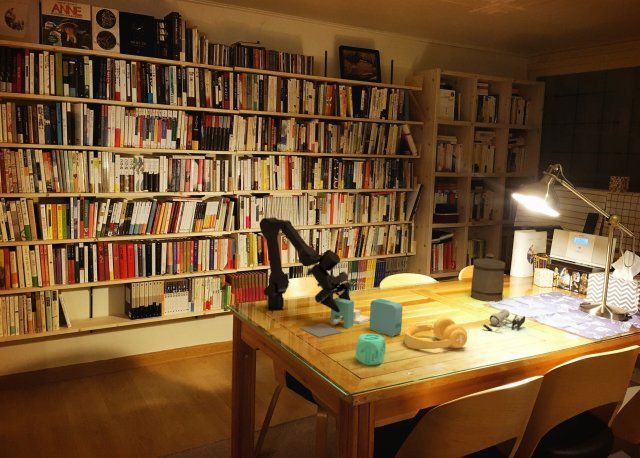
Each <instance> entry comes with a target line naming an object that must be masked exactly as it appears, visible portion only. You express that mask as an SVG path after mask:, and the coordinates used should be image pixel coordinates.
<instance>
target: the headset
mask: <svg viewBox="0 0 640 458" xmlns="http://www.w3.org/2000/svg"><path fill="white" fill-rule="evenodd" d="M432 330H433V334H434V335H435V337H436V339H438V340H428V339H423V338H419V337H417V336H416V337H415V336H414V335H415V334H418V333H421V332H422V333H423V332H431V331H432ZM403 336H404V344H405V346H406V347H408V348H410V349H416V350H436V349H442V348H446V347H448V348H451V349H460V348H463V346H465V345H466V343H467V341H468V334H467V330H466V329H465V328H464V327H463V325H460V324H457V323H456V322H455V321H454V320H453V319H452V318H449V317H446V316H444V317H443V316H442V317H440V318H438V319H437V320H435V322H433V325H431V324H420V325H419V324H418V325H414V326H409V327H407V328H406V329H405V330H404V335H403Z"/></svg>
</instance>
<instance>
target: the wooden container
mask: <svg viewBox="0 0 640 458" xmlns="http://www.w3.org/2000/svg"><path fill="white" fill-rule="evenodd" d="M485 256H486V258H476V259H474V260H473V267H472V278H471V289H470V297H471V298H472V299H475V300H478V301H482V302H490V301H495V302H500V301H499V300H501V301H503V293H504V281H505V279H504V277H505V268H506V262H505V261H503V260H499V259H494V254H493V253H486V255H485Z"/></svg>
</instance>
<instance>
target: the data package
mask: <svg viewBox="0 0 640 458" xmlns="http://www.w3.org/2000/svg"><path fill="white" fill-rule="evenodd" d="M369 313H370V314H369V317H370V320H369V329H370V330H371V331H373V332H377V333H378V334H379V333H380V334H383V335H386V336H389V337H395V336H397V335H400V334H401V332H402V326H403V325H402V322H403V305H402V304H401V303H399V302H396V301H391V300H387V299H385V298H384V299H383V298H376V299H374V300H373V299H372V300H371V302H370V312H369Z"/></svg>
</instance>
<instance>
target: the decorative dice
mask: <svg viewBox="0 0 640 458" xmlns="http://www.w3.org/2000/svg"><path fill="white" fill-rule="evenodd" d="M386 347H387V345H386V339H385V338H384V337H383V336H382V335H380V334H376V333H363V334H361V335H359V336H358V339H357V341H356V347H355V357H356V359H357V360H358V361H359V363H360V364H363V365H366V366H367V365H368V366H376V365H377V366H378V365H380V364H382V363H383V362H384V358H385V355H386Z"/></svg>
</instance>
